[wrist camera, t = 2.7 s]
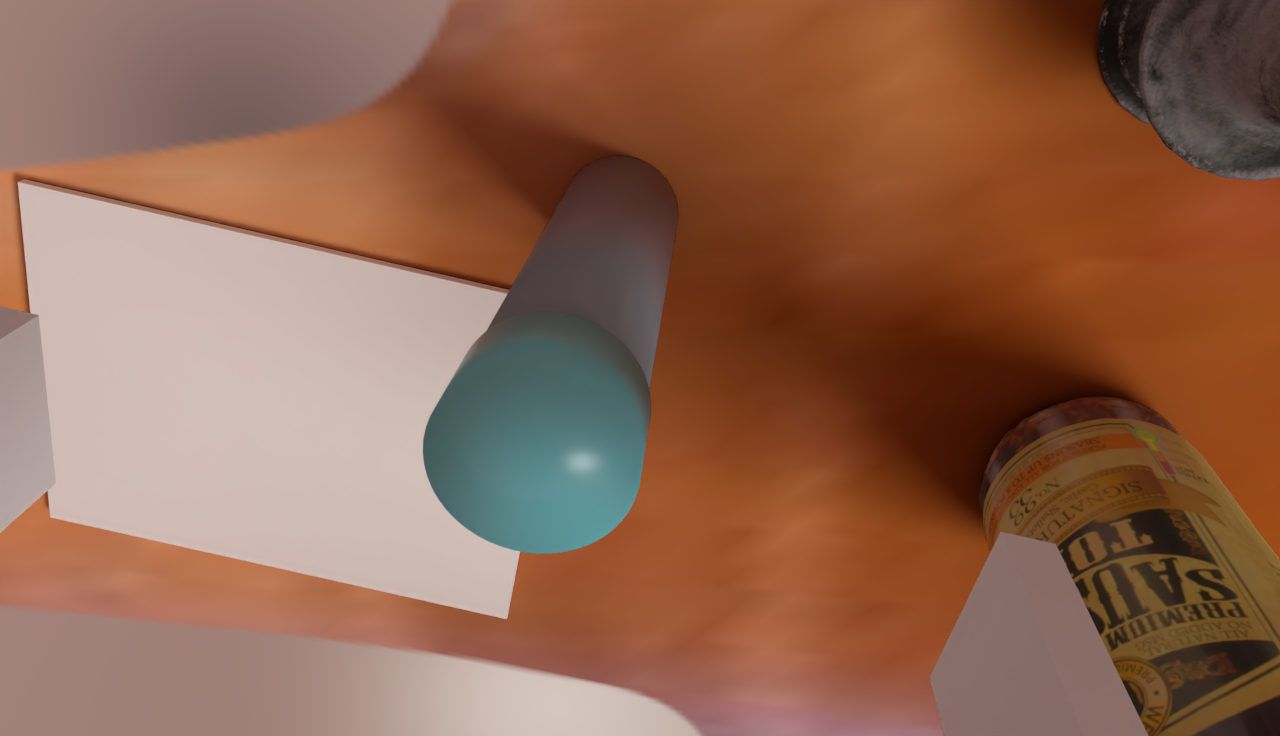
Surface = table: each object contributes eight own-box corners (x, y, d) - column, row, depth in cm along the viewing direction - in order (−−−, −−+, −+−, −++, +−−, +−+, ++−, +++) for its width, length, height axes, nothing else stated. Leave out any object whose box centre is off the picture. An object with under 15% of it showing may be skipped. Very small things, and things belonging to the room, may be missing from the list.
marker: (667, 283, 27) (617, 573, 15) (550, 256, 27) (412, 527, 15) (694, 167, 25) (662, 393, 14) (571, 139, 25) (435, 342, 14)
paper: (508, 613, 33) (506, 619, 33) (55, 511, 33) (50, 517, 32) (566, 302, 28) (565, 306, 27) (24, 179, 27) (17, 181, 27)
